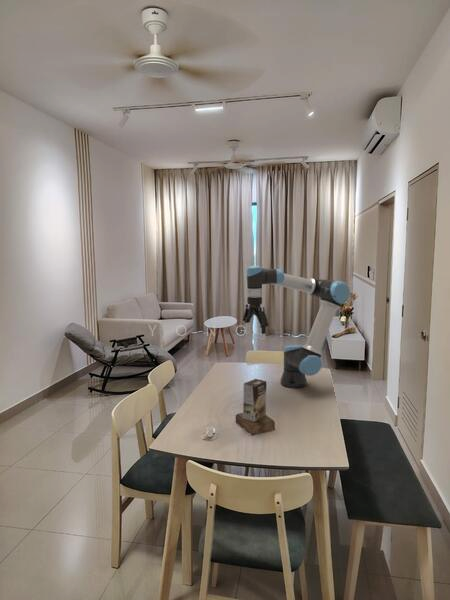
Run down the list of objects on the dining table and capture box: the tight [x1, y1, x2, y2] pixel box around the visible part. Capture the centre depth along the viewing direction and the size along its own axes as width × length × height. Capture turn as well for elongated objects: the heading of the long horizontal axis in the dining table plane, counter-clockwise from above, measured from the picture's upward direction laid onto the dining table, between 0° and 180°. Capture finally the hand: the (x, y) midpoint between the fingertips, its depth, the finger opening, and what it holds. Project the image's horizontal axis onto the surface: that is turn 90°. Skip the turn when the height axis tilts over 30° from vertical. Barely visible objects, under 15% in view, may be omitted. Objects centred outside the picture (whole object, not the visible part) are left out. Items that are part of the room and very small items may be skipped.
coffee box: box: [242, 378, 267, 422], centre depth 170 cm, size 9×6×16 cm
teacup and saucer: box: [205, 426, 216, 438], centre depth 162 cm, size 9×8×4 cm
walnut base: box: [235, 412, 276, 436], centre depth 171 cm, size 12×14×4 cm
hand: (255, 337), depth 198 cm, fingers open, 13 cm apart
